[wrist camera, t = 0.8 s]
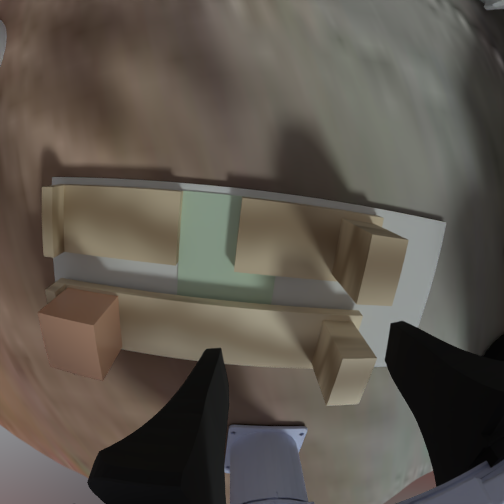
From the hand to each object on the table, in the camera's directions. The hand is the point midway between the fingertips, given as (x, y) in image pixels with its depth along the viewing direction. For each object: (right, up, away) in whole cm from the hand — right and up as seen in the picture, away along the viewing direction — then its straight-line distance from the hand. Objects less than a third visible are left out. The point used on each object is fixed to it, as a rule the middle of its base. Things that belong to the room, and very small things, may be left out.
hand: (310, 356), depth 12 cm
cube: (-15, -1, +9) cm, 17 cm away
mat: (-3, +2, +11) cm, 11 cm away
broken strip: (-5, +6, +9) cm, 12 cm away
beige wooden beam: (-6, -1, +11) cm, 13 cm away
